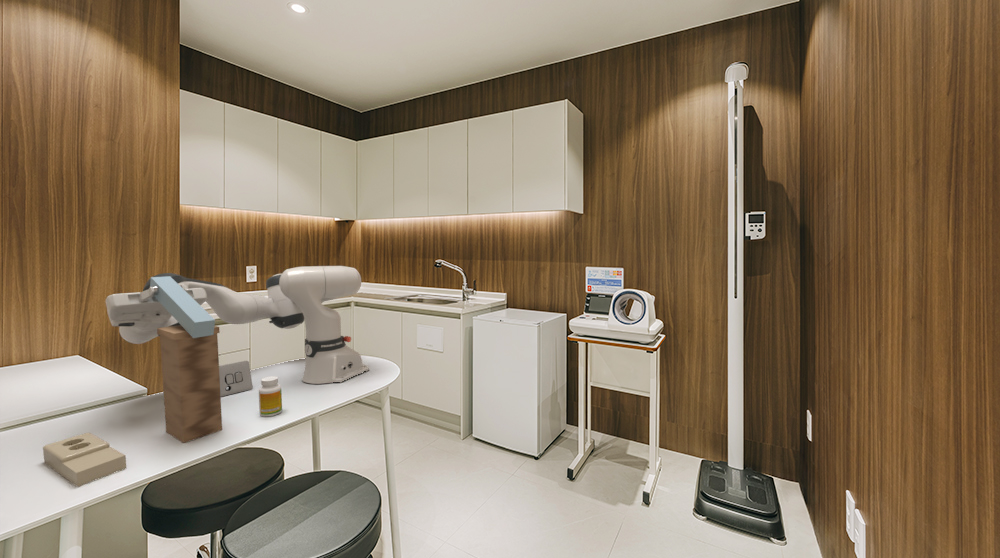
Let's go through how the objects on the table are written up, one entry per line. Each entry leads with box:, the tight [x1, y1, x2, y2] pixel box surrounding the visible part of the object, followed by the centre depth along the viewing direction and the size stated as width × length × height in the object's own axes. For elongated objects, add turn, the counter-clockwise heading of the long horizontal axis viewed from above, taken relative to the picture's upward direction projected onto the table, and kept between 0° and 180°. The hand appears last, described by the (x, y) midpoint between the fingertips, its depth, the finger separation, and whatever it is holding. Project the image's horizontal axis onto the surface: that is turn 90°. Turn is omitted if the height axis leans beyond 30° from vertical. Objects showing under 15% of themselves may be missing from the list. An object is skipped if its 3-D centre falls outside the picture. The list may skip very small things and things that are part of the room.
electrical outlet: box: [42, 432, 127, 487], centre depth 82 cm, size 7×4×18 cm
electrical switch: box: [219, 360, 253, 397], centre depth 124 cm, size 9×5×9 cm, turn 141°
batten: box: [150, 276, 216, 338], centre depth 97 cm, size 4×26×4 cm, turn 58°
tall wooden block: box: [157, 325, 223, 444], centre depth 97 cm, size 9×10×26 cm
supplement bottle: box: [258, 376, 283, 417], centre depth 108 cm, size 5×5×10 cm
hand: (168, 288), depth 100 cm, fingers closed on batten, 4 cm apart
